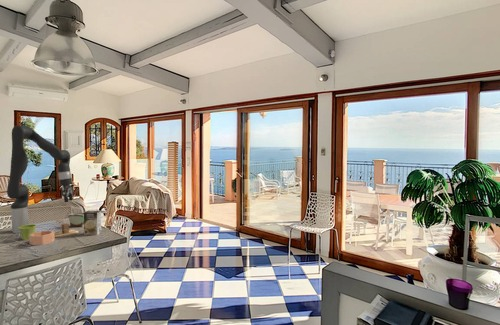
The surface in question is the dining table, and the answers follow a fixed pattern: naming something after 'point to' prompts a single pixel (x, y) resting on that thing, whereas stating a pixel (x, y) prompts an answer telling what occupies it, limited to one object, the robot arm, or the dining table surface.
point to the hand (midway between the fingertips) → (68, 201)
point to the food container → (76, 219)
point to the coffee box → (92, 222)
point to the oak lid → (65, 232)
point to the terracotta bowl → (41, 237)
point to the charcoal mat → (70, 236)
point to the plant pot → (27, 231)
